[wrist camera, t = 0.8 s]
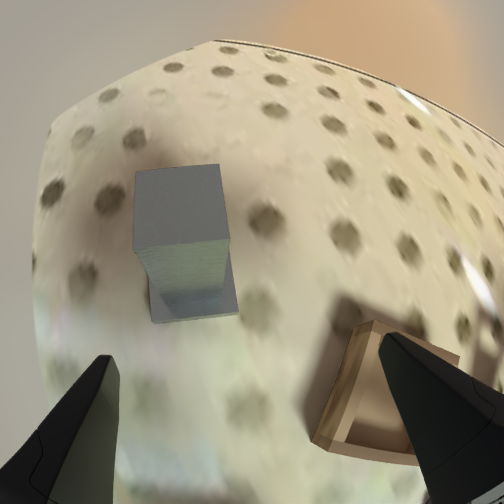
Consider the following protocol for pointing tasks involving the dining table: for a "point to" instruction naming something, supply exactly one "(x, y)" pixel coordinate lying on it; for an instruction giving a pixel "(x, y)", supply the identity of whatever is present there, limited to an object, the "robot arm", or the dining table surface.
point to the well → (368, 403)
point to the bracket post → (184, 243)
